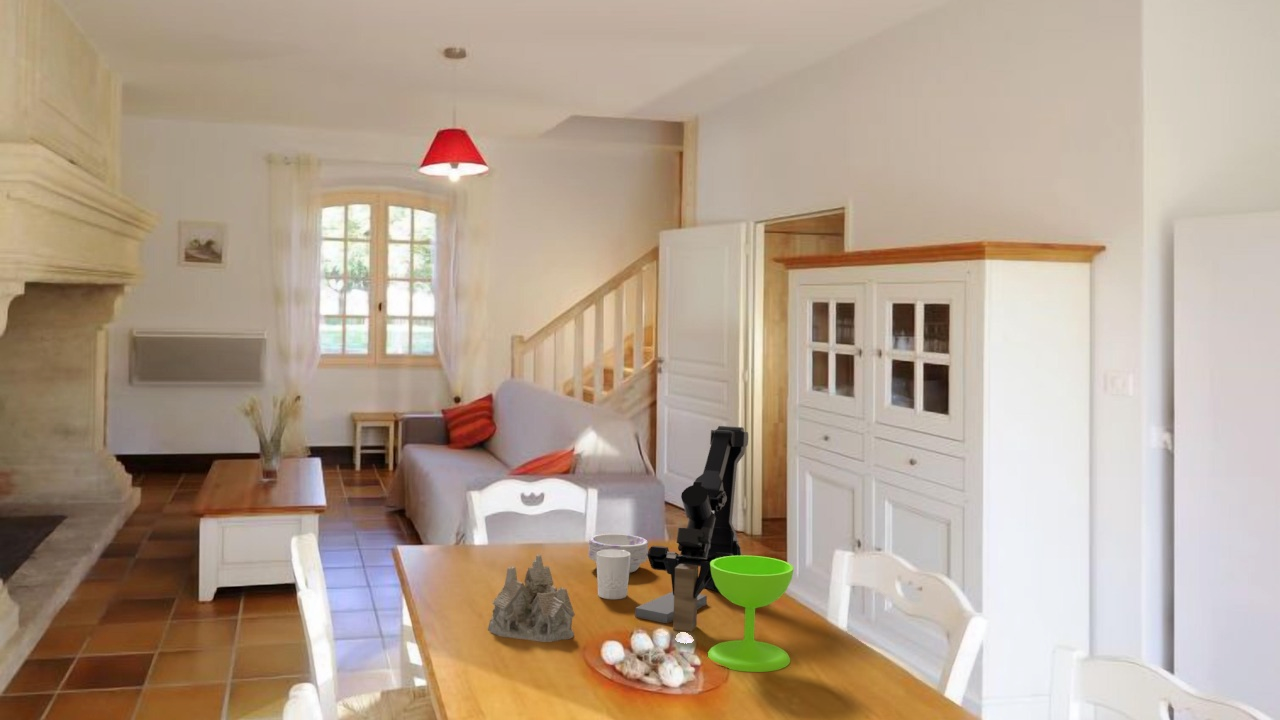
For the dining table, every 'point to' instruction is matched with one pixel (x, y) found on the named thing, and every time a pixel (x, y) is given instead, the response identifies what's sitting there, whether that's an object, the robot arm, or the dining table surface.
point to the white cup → (613, 573)
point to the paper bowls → (620, 547)
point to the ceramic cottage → (532, 607)
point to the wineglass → (750, 608)
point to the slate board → (663, 608)
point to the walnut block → (685, 597)
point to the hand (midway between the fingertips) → (684, 596)
